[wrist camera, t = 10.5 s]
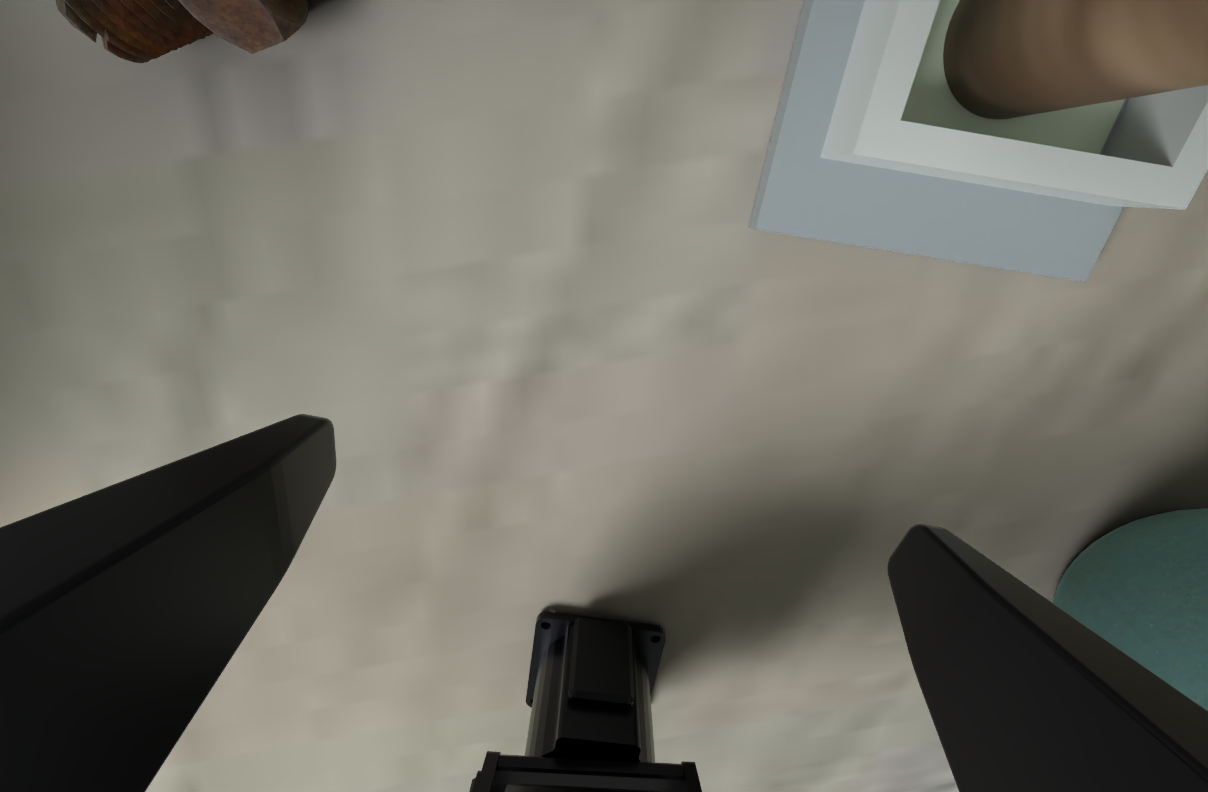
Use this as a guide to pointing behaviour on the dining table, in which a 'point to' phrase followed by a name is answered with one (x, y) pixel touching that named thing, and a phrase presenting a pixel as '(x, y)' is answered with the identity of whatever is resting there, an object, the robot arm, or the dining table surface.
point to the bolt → (183, 23)
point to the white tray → (958, 151)
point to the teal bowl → (1149, 595)
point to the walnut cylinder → (1071, 52)
